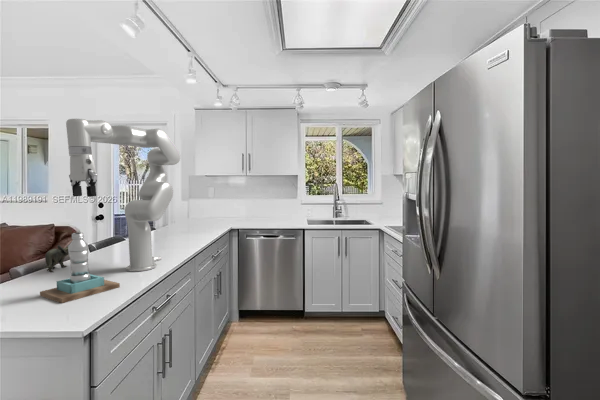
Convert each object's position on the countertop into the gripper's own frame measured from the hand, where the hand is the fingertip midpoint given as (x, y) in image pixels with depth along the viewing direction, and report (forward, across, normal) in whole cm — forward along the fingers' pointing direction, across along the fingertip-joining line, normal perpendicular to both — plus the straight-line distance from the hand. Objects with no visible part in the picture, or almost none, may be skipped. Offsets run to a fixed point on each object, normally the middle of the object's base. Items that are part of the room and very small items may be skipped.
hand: (84, 196), depth 137 cm
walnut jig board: (+34, -6, +8) cm, 36 cm away
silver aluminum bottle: (+33, -6, +8) cm, 35 cm away
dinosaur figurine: (+35, +39, -5) cm, 53 cm away
